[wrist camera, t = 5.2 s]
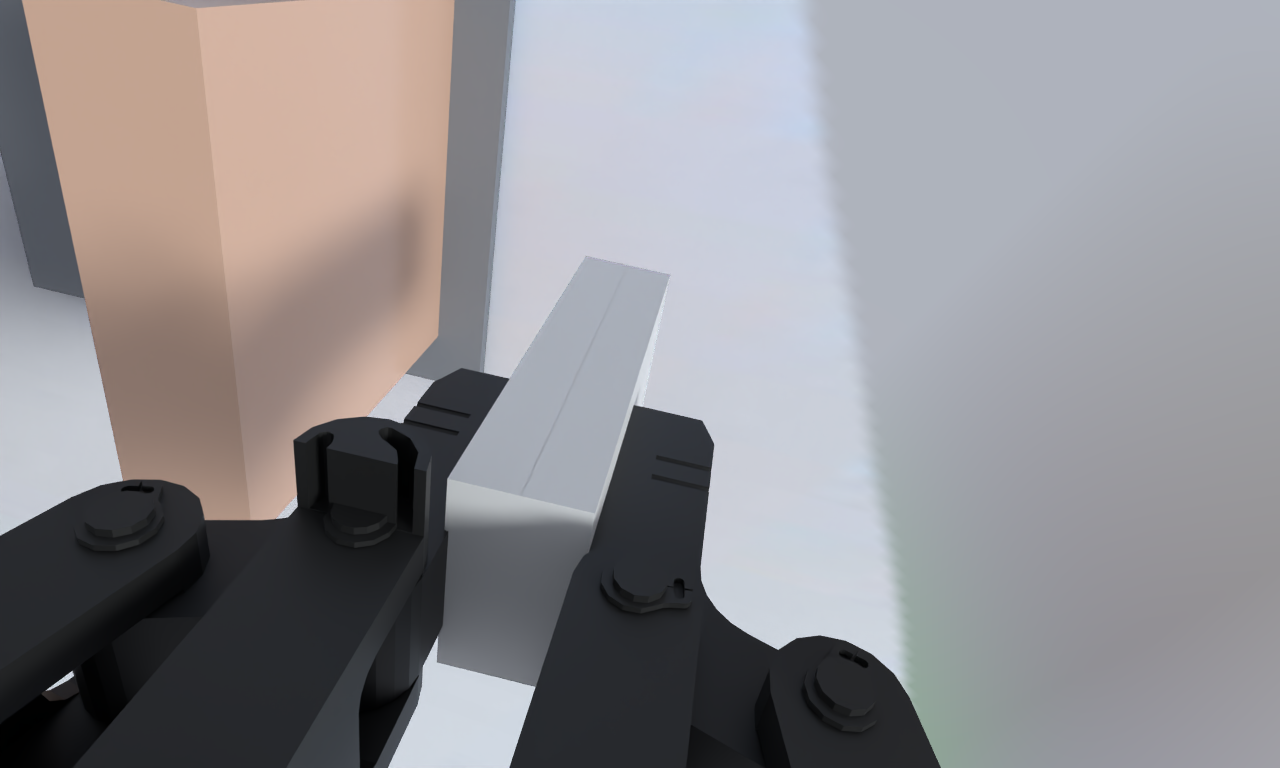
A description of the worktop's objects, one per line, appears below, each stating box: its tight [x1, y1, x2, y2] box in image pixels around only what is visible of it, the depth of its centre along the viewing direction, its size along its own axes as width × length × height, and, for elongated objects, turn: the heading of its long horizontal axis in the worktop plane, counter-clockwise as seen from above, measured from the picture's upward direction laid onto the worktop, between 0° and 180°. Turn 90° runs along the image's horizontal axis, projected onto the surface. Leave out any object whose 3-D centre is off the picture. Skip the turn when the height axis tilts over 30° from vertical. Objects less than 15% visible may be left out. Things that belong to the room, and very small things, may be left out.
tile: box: [22, 0, 455, 520], centre depth 16 cm, size 2×9×9 cm, turn 170°
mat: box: [0, 0, 515, 381], centre depth 20 cm, size 14×12×1 cm
